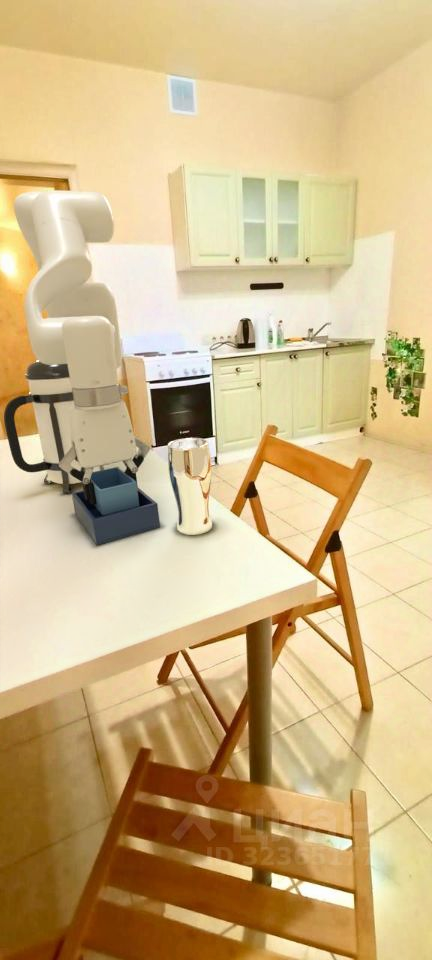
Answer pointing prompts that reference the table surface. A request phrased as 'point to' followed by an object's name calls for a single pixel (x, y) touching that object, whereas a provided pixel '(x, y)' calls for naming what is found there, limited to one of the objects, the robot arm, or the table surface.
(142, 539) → the table surface
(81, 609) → the table surface
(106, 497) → the small bin
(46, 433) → the coffee press
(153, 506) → the big bin
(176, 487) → the beer glass
